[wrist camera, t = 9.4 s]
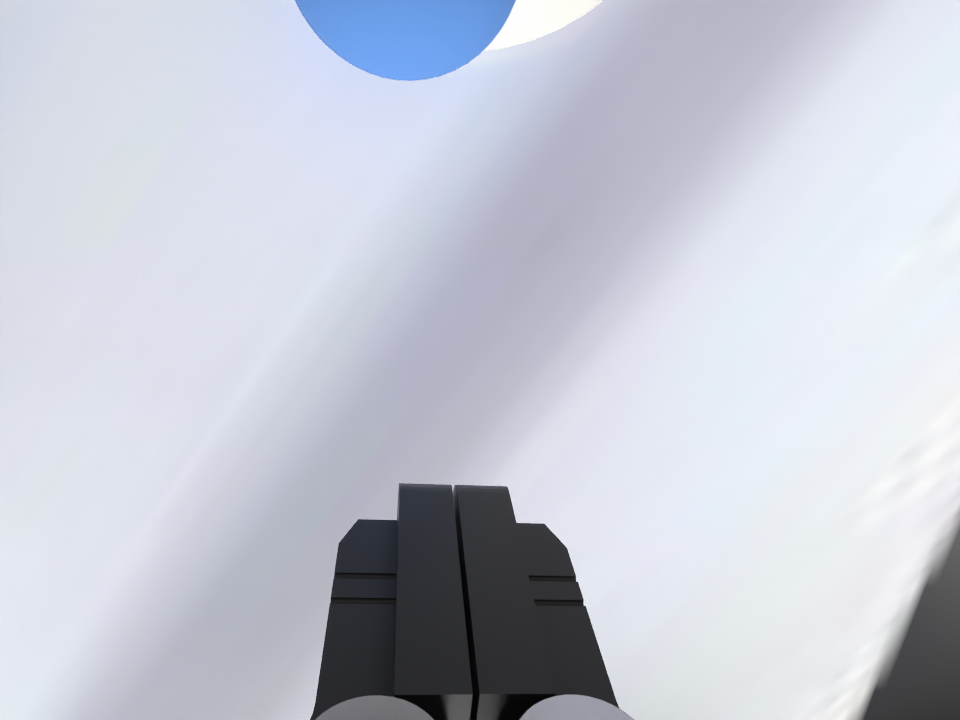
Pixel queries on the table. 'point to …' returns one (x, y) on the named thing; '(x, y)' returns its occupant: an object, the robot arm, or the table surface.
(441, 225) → the table surface
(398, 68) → the ball
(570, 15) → the disc
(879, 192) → the table surface
